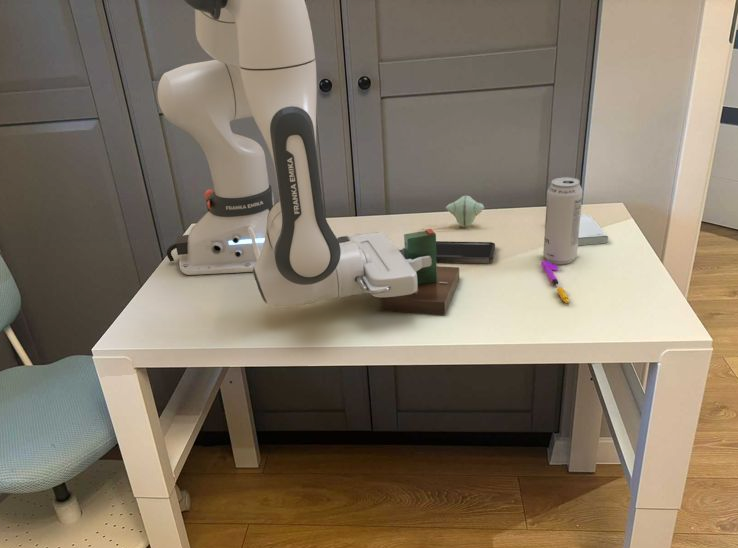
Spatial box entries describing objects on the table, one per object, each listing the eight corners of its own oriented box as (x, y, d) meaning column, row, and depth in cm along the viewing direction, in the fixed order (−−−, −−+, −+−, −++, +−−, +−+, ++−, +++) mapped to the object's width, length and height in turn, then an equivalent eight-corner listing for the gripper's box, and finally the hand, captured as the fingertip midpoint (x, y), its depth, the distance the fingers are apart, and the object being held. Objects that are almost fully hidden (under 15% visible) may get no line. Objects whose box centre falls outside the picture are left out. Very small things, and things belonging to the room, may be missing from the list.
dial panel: (444, 315, 120) (444, 301, 118) (381, 310, 123) (380, 297, 122) (459, 279, 131) (459, 266, 130) (401, 276, 135) (400, 263, 133)
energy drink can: (546, 251, 138) (551, 175, 130) (578, 254, 135) (585, 176, 128) (540, 264, 133) (544, 186, 126) (573, 267, 131) (580, 187, 123)
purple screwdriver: (539, 264, 132) (562, 304, 119) (541, 258, 132) (564, 298, 118) (553, 266, 132) (578, 306, 119) (555, 260, 132) (580, 300, 118)
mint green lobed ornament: (445, 230, 152) (445, 199, 149) (447, 223, 156) (447, 193, 152) (483, 230, 150) (484, 199, 147) (485, 223, 153) (485, 192, 150)
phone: (420, 240, 145) (495, 242, 141) (420, 246, 146) (495, 247, 141) (413, 256, 139) (492, 258, 134) (413, 261, 139) (492, 263, 135)
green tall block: (409, 286, 125) (407, 237, 120) (405, 281, 127) (403, 232, 122) (436, 281, 125) (436, 232, 121) (432, 277, 127) (431, 228, 122)
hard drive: (608, 235, 138) (589, 212, 148) (565, 238, 138) (549, 216, 149) (607, 243, 138) (588, 220, 149) (564, 246, 139) (549, 223, 150)
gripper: (362, 276, 112) (446, 261, 113) (335, 232, 129) (408, 219, 131) (365, 312, 115) (447, 296, 116) (338, 264, 132) (410, 251, 134)
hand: (426, 255), depth 124 cm, fingers closed on green tall block, 2 cm apart
